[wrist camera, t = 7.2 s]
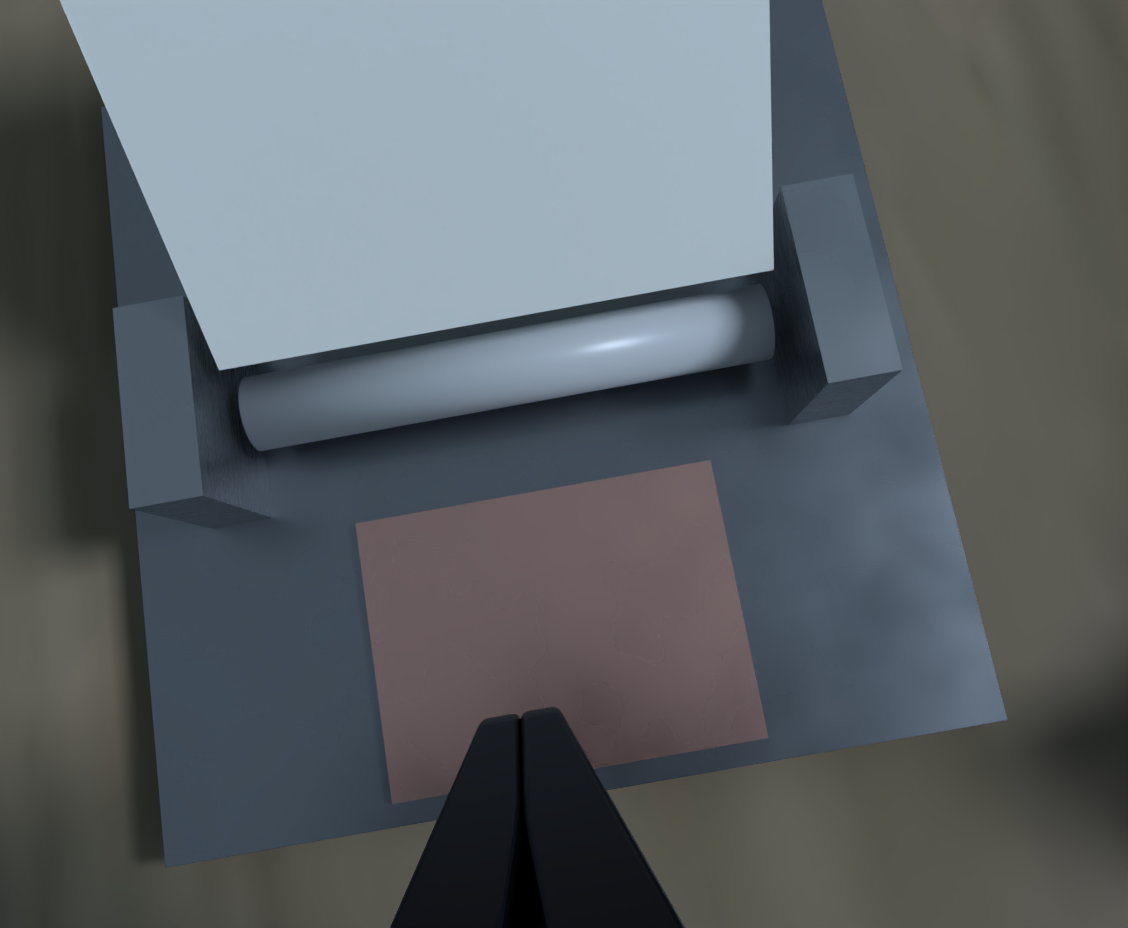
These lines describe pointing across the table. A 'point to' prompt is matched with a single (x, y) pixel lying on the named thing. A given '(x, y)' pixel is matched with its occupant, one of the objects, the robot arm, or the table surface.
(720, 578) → the blue-grey base plate
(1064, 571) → the table surface
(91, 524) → the table surface
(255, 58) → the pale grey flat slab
